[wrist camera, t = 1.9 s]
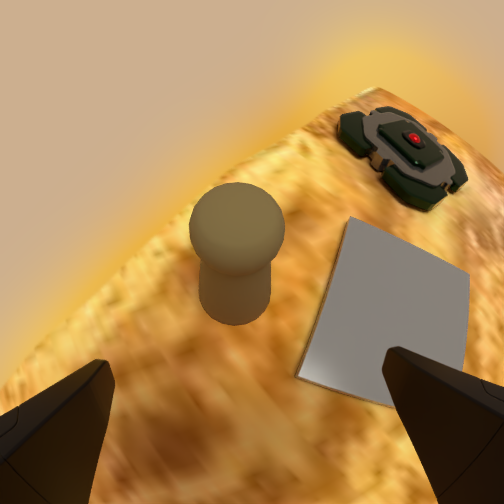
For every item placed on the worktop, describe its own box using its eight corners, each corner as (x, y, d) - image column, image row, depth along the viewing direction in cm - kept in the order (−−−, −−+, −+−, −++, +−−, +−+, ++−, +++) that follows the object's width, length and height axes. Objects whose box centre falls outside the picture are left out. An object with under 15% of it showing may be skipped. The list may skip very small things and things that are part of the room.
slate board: (443, 419, 18) (451, 419, 17) (294, 377, 20) (298, 375, 19) (463, 278, 26) (469, 274, 24) (346, 222, 28) (350, 216, 27)
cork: (228, 246, 26) (228, 152, 16) (284, 284, 24) (318, 201, 15) (183, 296, 23) (152, 217, 13) (242, 340, 21) (251, 288, 12)
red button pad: (466, 185, 34) (480, 167, 30) (414, 226, 29) (434, 202, 25) (392, 115, 41) (401, 95, 37) (322, 131, 36) (330, 105, 32)
